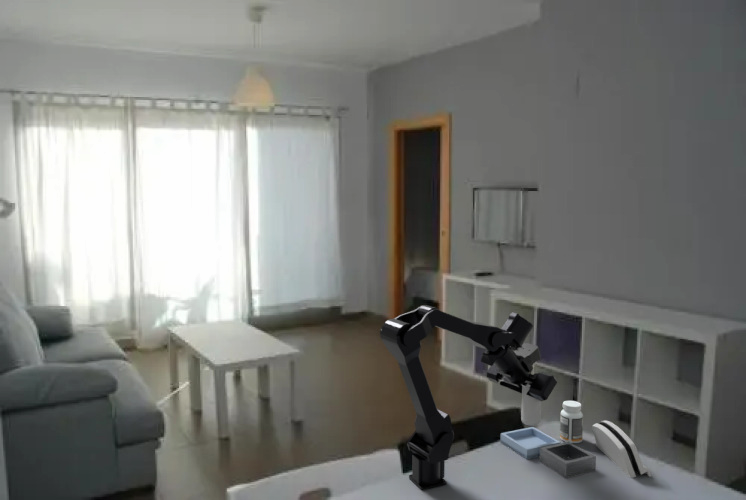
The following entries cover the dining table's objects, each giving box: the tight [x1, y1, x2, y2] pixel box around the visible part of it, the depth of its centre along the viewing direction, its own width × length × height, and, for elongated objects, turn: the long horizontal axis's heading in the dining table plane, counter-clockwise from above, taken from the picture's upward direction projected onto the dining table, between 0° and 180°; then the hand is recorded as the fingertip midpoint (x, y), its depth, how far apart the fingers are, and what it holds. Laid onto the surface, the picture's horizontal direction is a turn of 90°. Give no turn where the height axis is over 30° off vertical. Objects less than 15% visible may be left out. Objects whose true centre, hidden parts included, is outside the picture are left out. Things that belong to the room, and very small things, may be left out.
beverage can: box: [520, 383, 542, 427], centre depth 148 cm, size 5×5×12 cm
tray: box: [500, 426, 562, 460], centre depth 149 cm, size 11×11×2 cm
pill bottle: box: [559, 400, 584, 444], centre depth 153 cm, size 6×6×10 cm
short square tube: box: [539, 441, 597, 479], centre depth 138 cm, size 9×9×4 cm
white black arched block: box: [591, 420, 652, 479], centre depth 141 cm, size 17×5×10 cm, turn 5°
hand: (534, 396), depth 148 cm, fingers closed on beverage can, 5 cm apart
